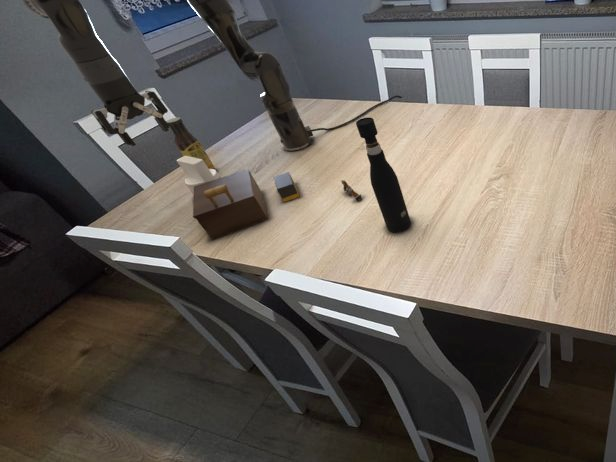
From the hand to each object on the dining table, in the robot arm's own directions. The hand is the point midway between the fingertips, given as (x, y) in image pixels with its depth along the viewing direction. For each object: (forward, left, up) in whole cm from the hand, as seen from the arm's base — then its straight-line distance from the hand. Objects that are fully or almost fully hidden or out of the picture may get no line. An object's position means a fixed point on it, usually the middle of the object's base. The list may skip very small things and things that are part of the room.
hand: (150, 137), depth 107 cm
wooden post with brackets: (-41, +25, -24) cm, 54 cm away
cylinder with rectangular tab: (-3, -8, -24) cm, 26 cm away
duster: (-25, +10, -24) cm, 36 cm away
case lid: (-10, +12, -16) cm, 22 cm away
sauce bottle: (-2, -23, -24) cm, 34 cm away
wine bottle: (-48, +47, -24) cm, 71 cm away
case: (-10, +12, -24) cm, 28 cm away
